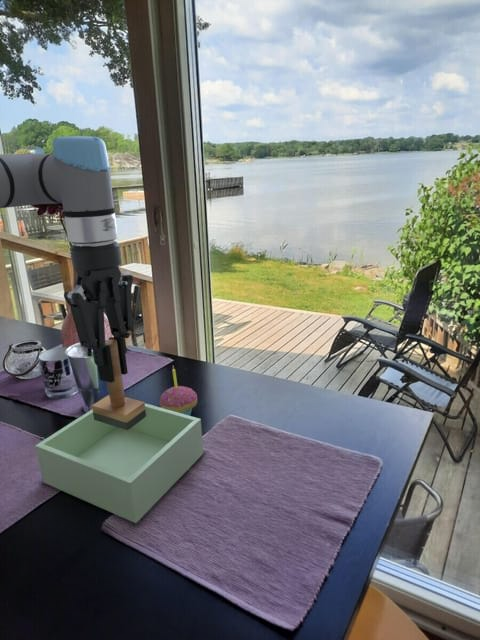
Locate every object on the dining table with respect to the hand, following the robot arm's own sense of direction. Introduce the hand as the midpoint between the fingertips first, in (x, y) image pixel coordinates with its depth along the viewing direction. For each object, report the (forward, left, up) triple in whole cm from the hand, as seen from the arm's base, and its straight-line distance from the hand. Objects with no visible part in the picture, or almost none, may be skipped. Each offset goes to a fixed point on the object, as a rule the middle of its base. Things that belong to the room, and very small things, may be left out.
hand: (113, 376), depth 77 cm
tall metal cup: (-21, +14, -20) cm, 32 cm away
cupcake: (-1, +19, -20) cm, 27 cm away
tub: (0, 0, -19) cm, 19 cm away
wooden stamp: (0, 0, -9) cm, 9 cm away
